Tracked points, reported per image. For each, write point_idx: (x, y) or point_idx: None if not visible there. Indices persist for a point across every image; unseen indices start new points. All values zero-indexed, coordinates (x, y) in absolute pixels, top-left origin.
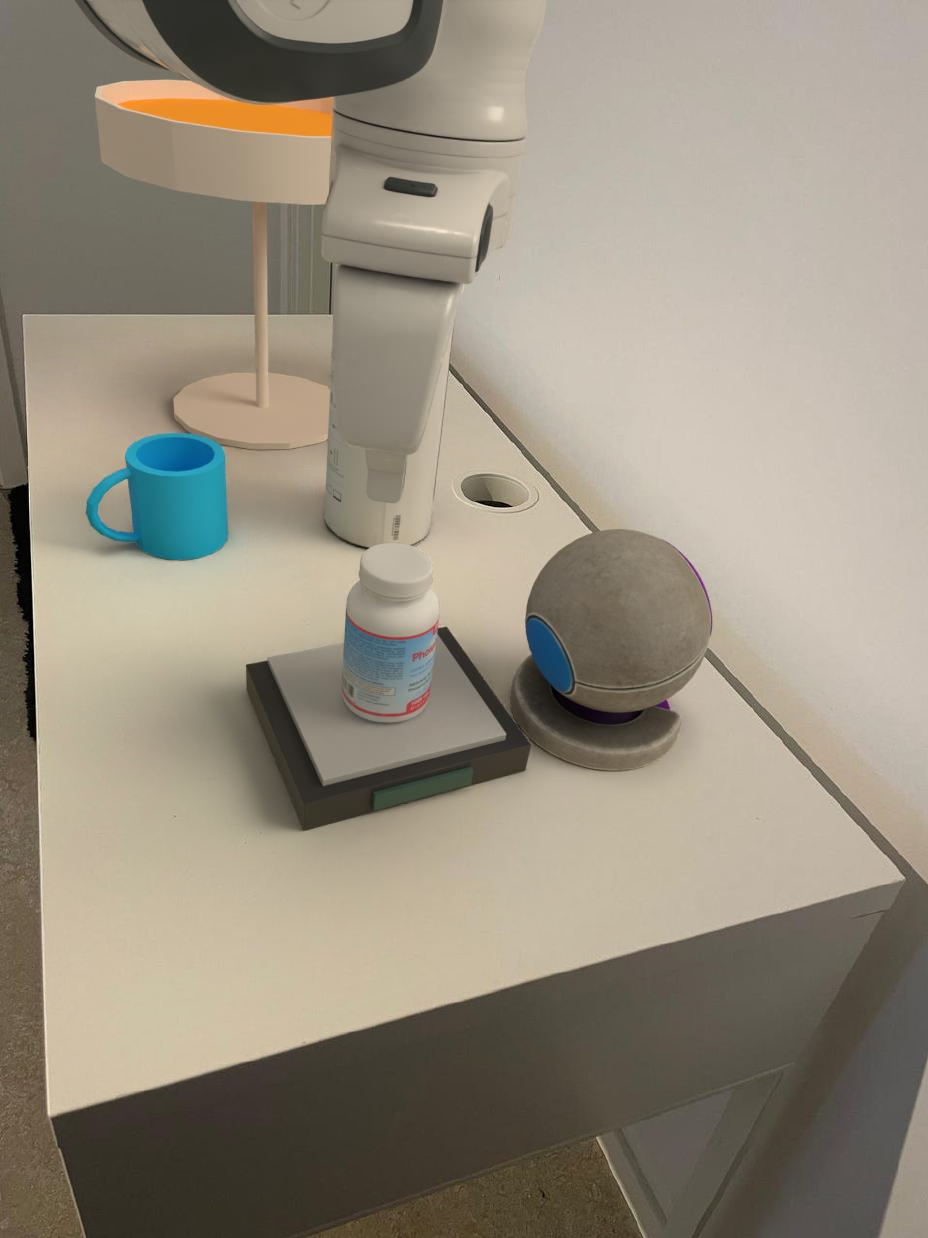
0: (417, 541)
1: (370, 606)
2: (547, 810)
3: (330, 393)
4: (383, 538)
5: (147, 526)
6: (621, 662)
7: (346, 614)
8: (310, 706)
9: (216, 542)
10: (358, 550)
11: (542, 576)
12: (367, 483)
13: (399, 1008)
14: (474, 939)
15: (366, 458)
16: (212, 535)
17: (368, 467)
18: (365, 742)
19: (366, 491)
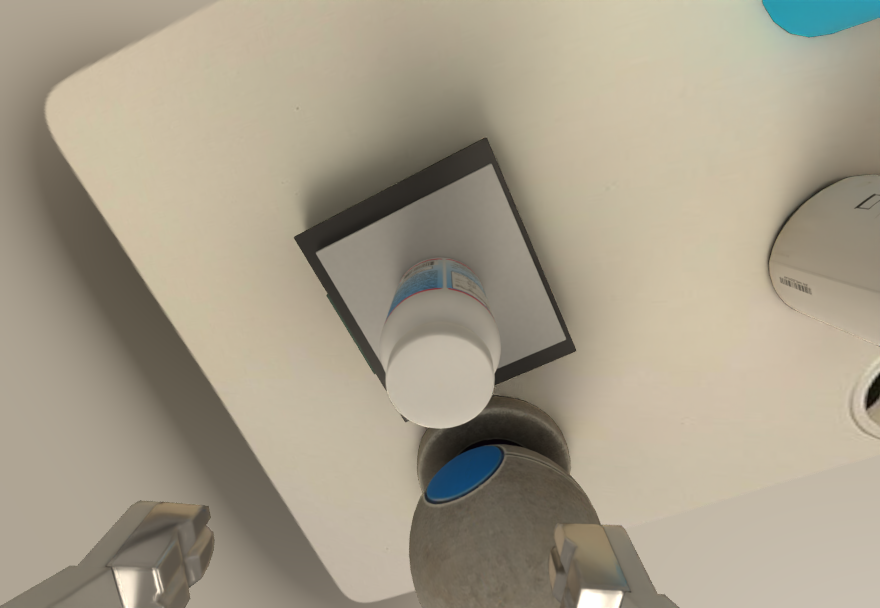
0: (785, 302)
1: (399, 332)
2: (367, 417)
3: None
4: (781, 265)
5: None
6: (410, 552)
7: (423, 290)
8: (415, 225)
9: (793, 23)
10: (771, 230)
11: (524, 512)
12: (113, 525)
13: (171, 318)
14: (237, 365)
15: (5, 604)
16: (800, 13)
17: (57, 573)
18: (371, 286)
19: (131, 506)
